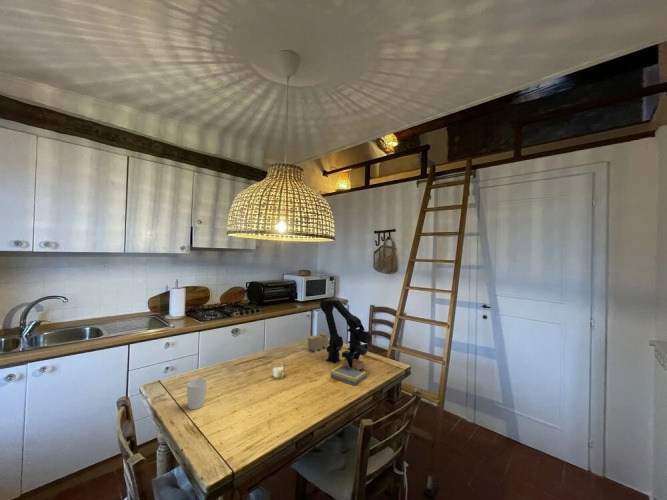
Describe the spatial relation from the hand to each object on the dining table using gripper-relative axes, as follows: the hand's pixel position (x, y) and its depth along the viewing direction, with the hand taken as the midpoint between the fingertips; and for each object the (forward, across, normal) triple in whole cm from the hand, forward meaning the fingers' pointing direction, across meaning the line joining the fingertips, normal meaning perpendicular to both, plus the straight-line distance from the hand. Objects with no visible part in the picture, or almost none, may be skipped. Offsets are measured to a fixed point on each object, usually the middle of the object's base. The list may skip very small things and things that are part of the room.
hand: (353, 365), depth 168 cm
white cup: (+2, -78, +35) cm, 85 cm away
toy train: (+2, +12, +36) cm, 38 cm away
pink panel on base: (+2, 0, 0) cm, 2 cm away
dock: (+2, -12, -4) cm, 13 cm away
